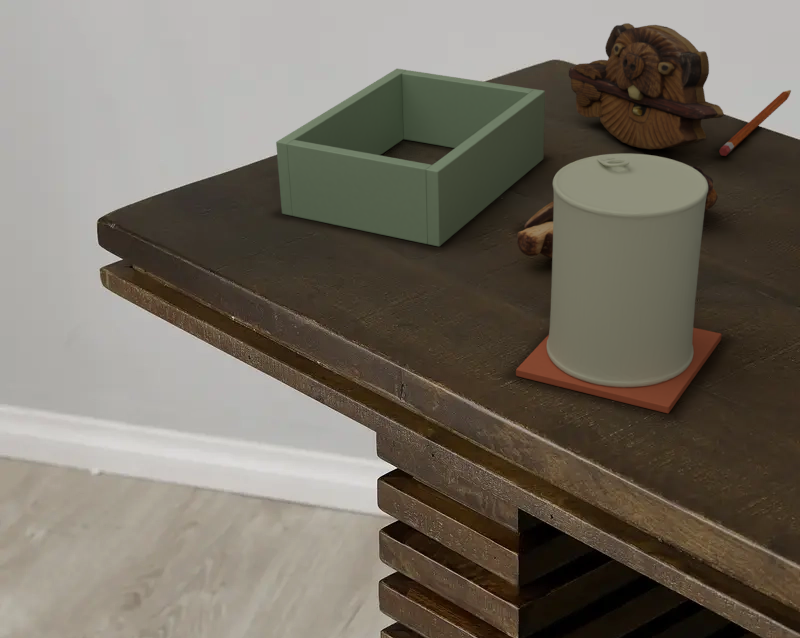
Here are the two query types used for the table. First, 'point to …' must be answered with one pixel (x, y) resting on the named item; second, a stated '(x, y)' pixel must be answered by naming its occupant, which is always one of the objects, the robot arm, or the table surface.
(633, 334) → the can
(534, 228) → the lashed bone hook
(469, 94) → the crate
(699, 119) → the wooden carving
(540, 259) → the table surface
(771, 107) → the pencil
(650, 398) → the mat
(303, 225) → the table surface
